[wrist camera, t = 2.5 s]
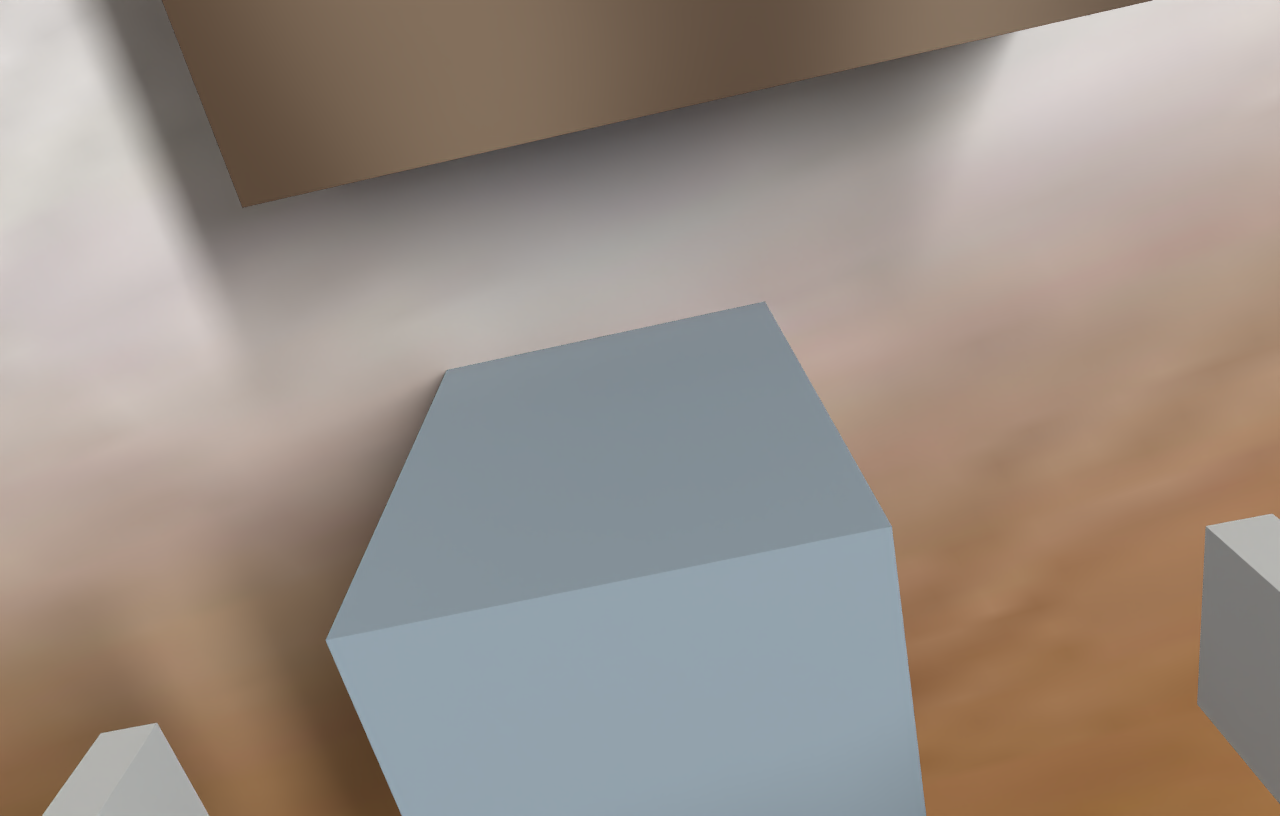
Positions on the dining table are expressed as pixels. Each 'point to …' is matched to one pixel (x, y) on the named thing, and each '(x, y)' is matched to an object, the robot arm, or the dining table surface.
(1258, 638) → the robot arm
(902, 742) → the slate block
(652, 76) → the walnut block
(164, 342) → the dining table surface
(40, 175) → the dining table surface
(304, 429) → the dining table surface
